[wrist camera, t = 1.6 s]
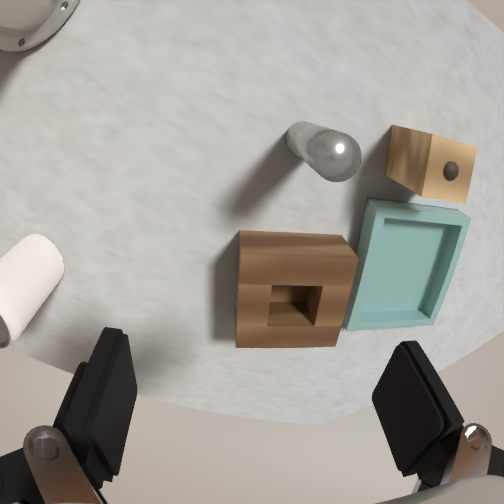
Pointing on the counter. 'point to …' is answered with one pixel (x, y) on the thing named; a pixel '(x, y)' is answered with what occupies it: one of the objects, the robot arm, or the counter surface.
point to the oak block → (430, 164)
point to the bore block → (292, 289)
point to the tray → (403, 264)
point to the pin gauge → (325, 150)
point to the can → (26, 283)
